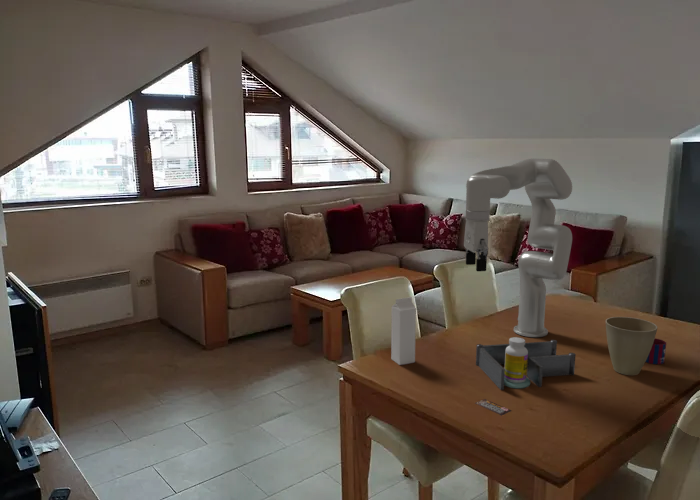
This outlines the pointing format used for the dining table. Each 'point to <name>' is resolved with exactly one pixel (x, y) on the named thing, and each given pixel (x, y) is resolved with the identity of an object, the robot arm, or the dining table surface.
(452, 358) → the dining table surface
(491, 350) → the gray wall barrier
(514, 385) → the pad
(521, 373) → the supplement bottle
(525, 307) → the robot arm
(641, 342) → the plant pot
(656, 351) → the mug
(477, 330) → the dining table surface
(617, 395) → the dining table surface
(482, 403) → the chocolate bar
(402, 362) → the milk
